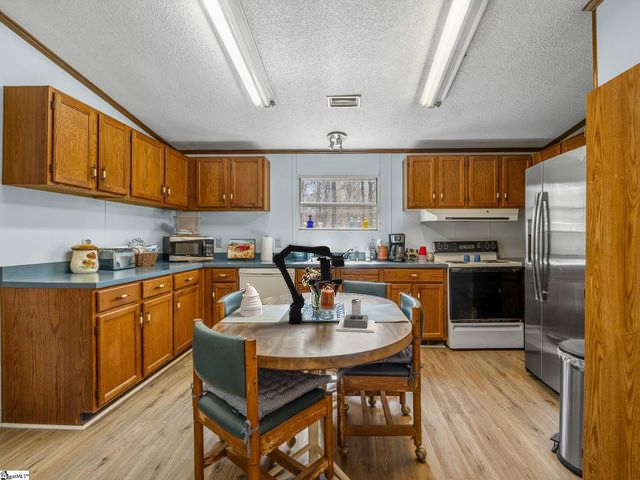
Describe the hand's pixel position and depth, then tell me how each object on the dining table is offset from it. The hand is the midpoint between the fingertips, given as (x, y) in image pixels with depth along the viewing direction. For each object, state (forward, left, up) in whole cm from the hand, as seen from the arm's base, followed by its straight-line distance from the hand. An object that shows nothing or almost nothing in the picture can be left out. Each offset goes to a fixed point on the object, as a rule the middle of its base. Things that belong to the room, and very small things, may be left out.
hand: (327, 297), depth 178 cm
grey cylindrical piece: (+16, -9, -12) cm, 22 cm away
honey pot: (-47, +8, -13) cm, 50 cm away
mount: (+17, -9, -13) cm, 23 cm away
